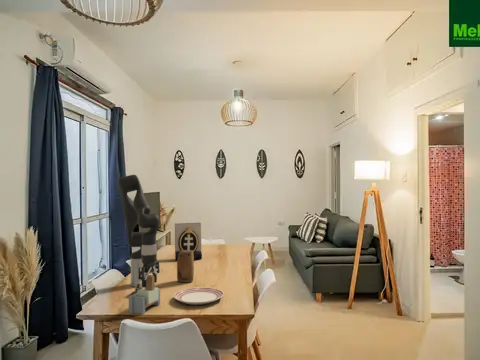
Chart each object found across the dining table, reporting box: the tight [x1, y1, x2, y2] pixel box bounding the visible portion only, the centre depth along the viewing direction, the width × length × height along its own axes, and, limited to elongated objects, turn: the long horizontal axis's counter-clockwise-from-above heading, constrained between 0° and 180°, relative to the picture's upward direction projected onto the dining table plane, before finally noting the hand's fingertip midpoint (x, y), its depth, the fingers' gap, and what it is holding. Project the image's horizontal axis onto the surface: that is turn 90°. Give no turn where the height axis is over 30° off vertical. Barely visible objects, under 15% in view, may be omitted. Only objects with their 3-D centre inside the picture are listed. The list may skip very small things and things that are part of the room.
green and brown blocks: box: [137, 274, 159, 304], centre depth 178 cm, size 7×8×13 cm
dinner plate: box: [173, 286, 225, 306], centre depth 192 cm, size 27×27×3 cm
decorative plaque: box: [174, 222, 203, 262], centre depth 290 cm, size 21×11×30 cm, turn 104°
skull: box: [130, 281, 144, 296], centre depth 202 cm, size 12×10×10 cm
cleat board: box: [128, 288, 161, 315], centre depth 179 cm, size 8×16×8 cm, turn 158°
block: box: [176, 250, 195, 283], centre depth 226 cm, size 11×8×20 cm
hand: (149, 284), depth 178 cm, fingers open, 8 cm apart
